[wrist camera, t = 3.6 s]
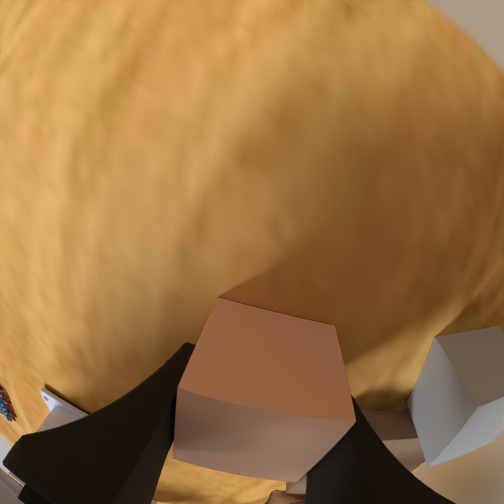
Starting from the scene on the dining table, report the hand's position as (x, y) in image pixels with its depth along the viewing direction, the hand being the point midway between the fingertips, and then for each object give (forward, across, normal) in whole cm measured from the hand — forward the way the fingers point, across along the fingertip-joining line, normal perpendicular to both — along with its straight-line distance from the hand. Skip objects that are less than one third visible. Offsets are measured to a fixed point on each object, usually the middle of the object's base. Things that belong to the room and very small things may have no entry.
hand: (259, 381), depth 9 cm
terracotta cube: (+1, 0, 0) cm, 1 cm away
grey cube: (+2, -10, -1) cm, 10 cm away
